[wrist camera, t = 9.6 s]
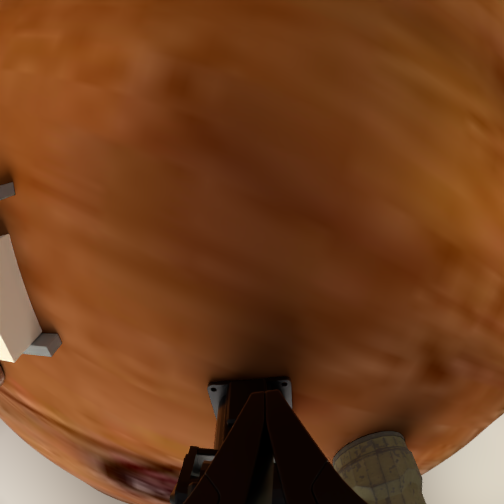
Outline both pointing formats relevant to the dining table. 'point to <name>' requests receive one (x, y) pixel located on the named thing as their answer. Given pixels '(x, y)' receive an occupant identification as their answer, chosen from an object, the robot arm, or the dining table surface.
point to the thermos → (381, 469)
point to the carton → (14, 307)
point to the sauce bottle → (1, 376)
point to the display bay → (45, 341)
